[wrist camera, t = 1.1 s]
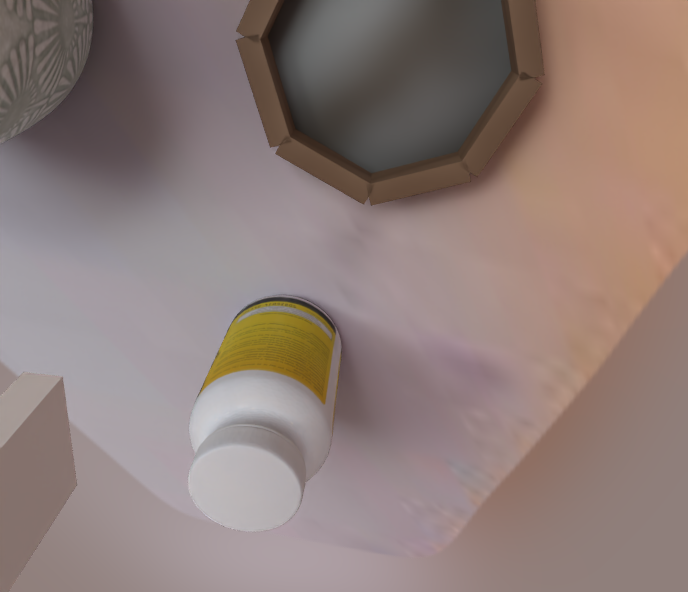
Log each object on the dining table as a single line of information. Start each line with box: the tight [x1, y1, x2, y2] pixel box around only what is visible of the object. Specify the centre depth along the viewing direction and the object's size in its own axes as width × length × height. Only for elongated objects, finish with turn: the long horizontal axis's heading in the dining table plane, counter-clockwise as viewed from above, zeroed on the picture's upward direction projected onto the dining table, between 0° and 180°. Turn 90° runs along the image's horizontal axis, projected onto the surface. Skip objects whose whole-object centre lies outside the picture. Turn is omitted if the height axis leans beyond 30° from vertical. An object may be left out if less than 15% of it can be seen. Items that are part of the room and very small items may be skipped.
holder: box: [236, 0, 544, 206], centre depth 27 cm, size 12×12×3 cm
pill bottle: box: [188, 295, 342, 532], centre depth 30 cm, size 6×6×12 cm
